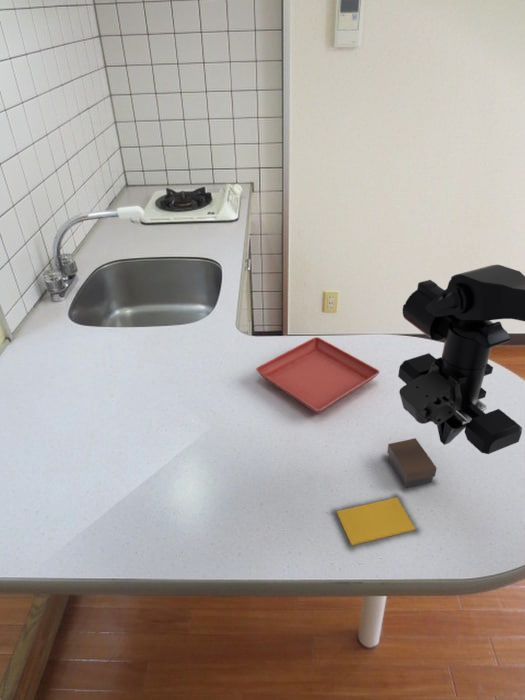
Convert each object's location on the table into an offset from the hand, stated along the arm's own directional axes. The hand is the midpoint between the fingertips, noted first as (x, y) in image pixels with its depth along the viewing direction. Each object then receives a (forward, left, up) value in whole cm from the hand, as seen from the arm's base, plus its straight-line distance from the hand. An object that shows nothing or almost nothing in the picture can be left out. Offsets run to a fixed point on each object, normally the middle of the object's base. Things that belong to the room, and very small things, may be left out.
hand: (444, 442), depth 78 cm
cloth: (+4, +11, -10) cm, 16 cm away
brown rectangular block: (+5, -1, -10) cm, 11 cm away
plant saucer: (+30, -12, -10) cm, 34 cm away
